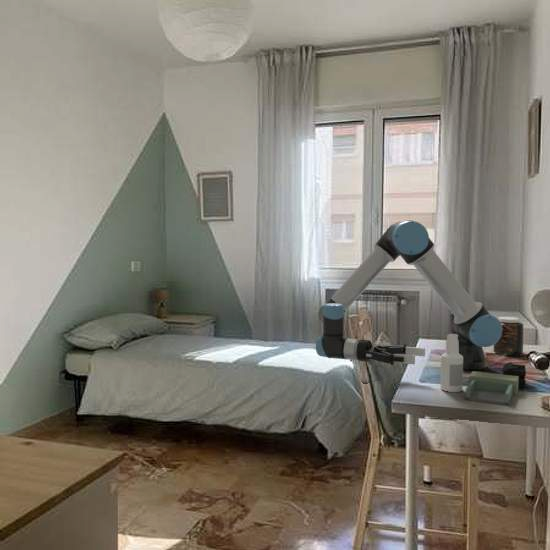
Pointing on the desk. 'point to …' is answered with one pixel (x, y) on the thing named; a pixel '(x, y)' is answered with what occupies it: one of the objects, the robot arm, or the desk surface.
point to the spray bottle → (452, 366)
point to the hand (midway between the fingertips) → (420, 356)
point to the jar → (510, 337)
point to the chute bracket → (492, 388)
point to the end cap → (516, 373)
